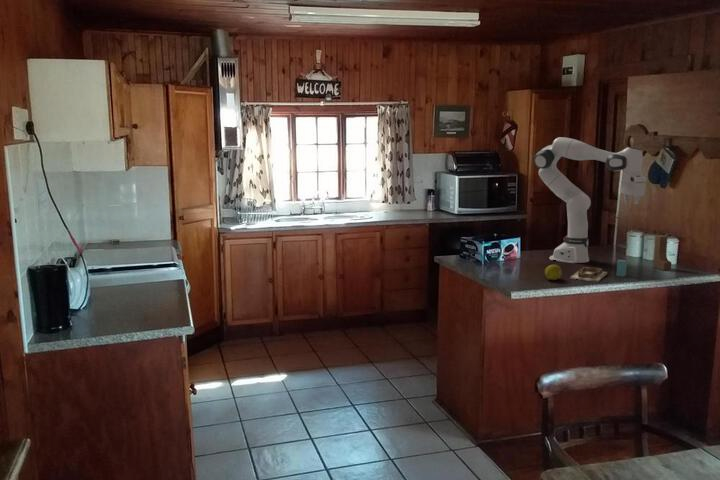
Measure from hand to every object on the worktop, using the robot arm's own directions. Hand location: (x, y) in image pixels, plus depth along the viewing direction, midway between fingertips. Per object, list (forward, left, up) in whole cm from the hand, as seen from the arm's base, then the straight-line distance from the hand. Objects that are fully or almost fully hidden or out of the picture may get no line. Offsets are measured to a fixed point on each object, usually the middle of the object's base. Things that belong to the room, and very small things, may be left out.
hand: (631, 203), depth 337 cm
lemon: (-28, -41, -37) cm, 62 cm away
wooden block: (+16, +11, -37) cm, 42 cm away
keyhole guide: (-14, -24, -37) cm, 46 cm away
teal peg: (0, -15, -37) cm, 40 cm away
